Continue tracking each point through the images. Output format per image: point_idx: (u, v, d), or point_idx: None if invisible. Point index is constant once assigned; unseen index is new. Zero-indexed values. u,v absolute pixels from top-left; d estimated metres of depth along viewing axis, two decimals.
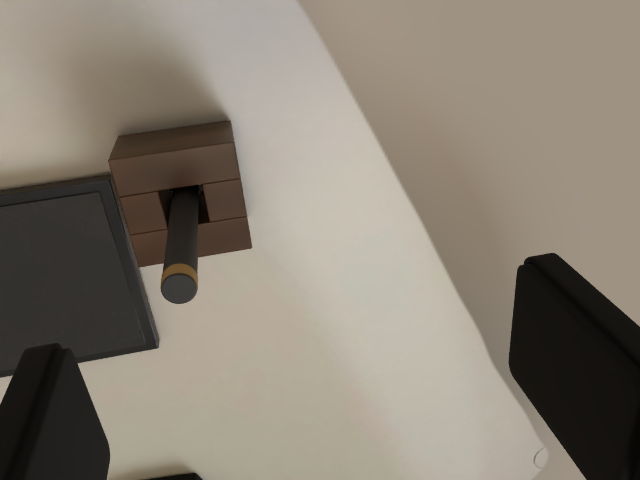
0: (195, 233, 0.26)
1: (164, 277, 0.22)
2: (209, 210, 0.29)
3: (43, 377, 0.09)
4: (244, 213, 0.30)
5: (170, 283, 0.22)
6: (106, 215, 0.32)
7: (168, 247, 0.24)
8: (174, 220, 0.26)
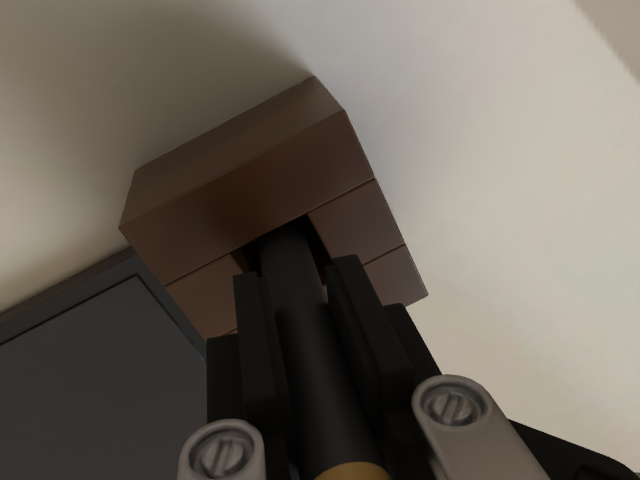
0: (334, 333, 0.11)
1: None
2: (334, 255, 0.15)
3: (260, 295, 0.11)
4: (400, 239, 0.15)
5: None
6: (162, 308, 0.18)
7: (291, 400, 0.10)
8: (280, 314, 0.12)
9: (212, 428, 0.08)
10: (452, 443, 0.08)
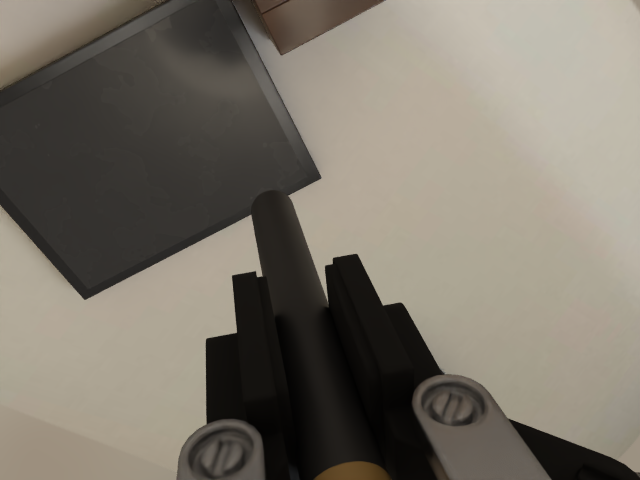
0: (334, 335, 0.12)
1: None
2: None
3: (260, 295, 0.11)
4: None
5: None
6: (226, 22, 0.28)
7: (291, 401, 0.10)
8: (281, 316, 0.12)
9: (211, 428, 0.08)
10: (453, 443, 0.08)
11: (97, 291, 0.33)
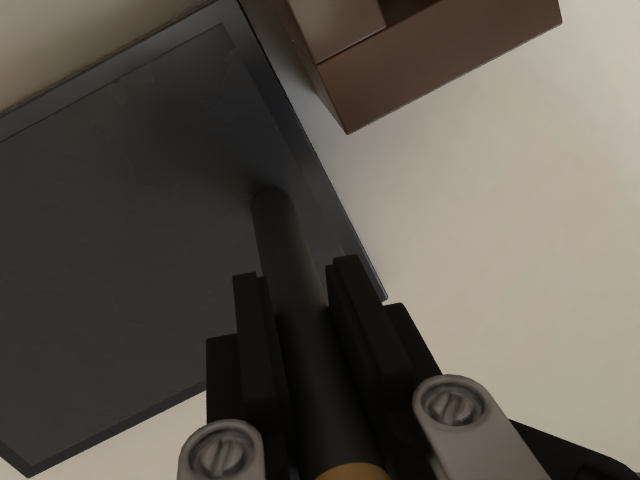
0: (334, 335, 0.12)
1: None
2: None
3: (260, 295, 0.11)
4: None
5: None
6: (247, 70, 0.16)
7: (291, 401, 0.10)
8: (280, 316, 0.12)
9: (212, 428, 0.08)
10: (453, 443, 0.08)
11: (46, 467, 0.22)
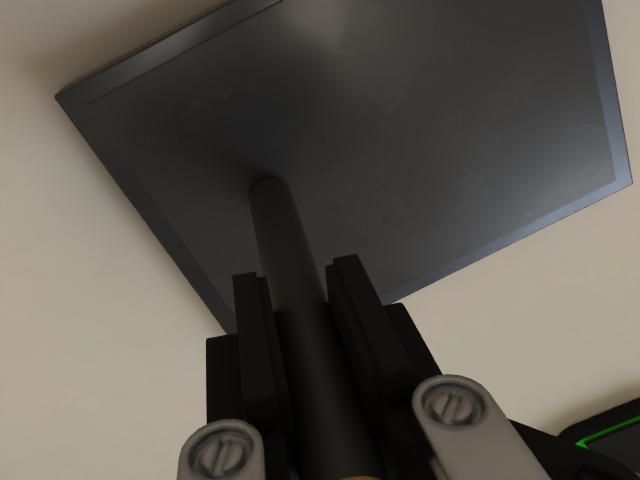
0: (336, 338, 0.11)
1: None
2: None
3: (260, 295, 0.11)
4: None
5: None
6: None
7: (292, 407, 0.10)
8: (281, 316, 0.12)
9: (212, 428, 0.08)
10: (452, 443, 0.08)
11: None
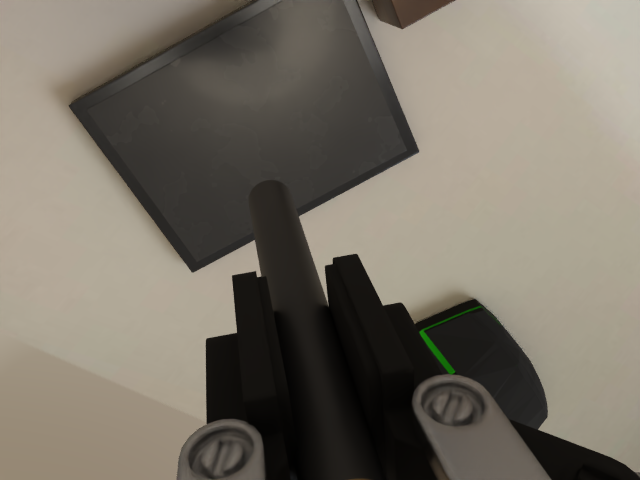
0: (335, 340, 0.11)
1: None
2: None
3: (260, 295, 0.11)
4: None
5: None
6: (343, 0, 0.29)
7: None
8: (280, 318, 0.12)
9: (212, 428, 0.08)
10: (452, 443, 0.08)
11: (205, 264, 0.35)
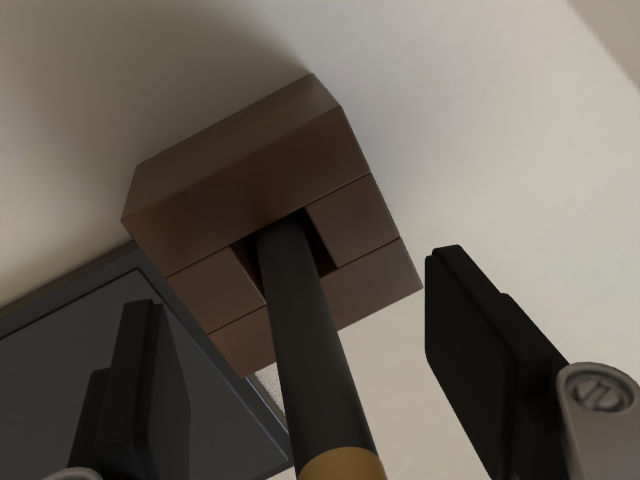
0: (329, 322, 0.12)
1: None
2: (331, 248, 0.15)
3: (147, 325, 0.10)
4: (395, 233, 0.16)
5: None
6: (162, 301, 0.19)
7: (286, 386, 0.10)
8: (277, 302, 0.12)
9: (58, 478, 0.08)
10: (587, 424, 0.08)
11: None
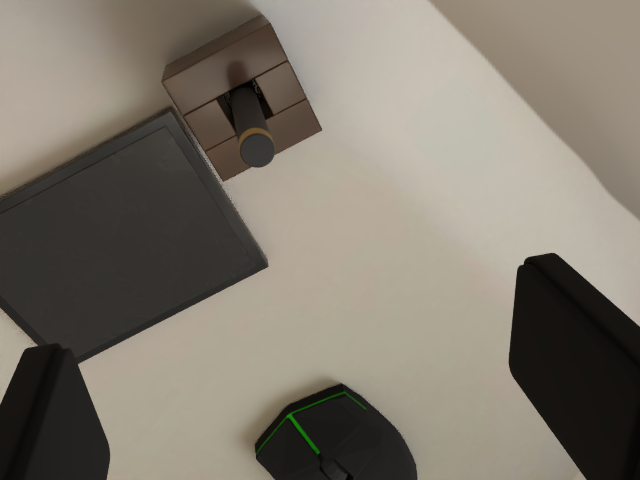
0: (259, 110, 0.26)
1: (240, 143, 0.22)
2: (269, 103, 0.29)
3: (43, 377, 0.09)
4: (303, 95, 0.30)
5: (247, 146, 0.22)
6: (179, 147, 0.33)
7: (237, 125, 0.24)
8: (236, 106, 0.26)
9: None
10: None
11: None
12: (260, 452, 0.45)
